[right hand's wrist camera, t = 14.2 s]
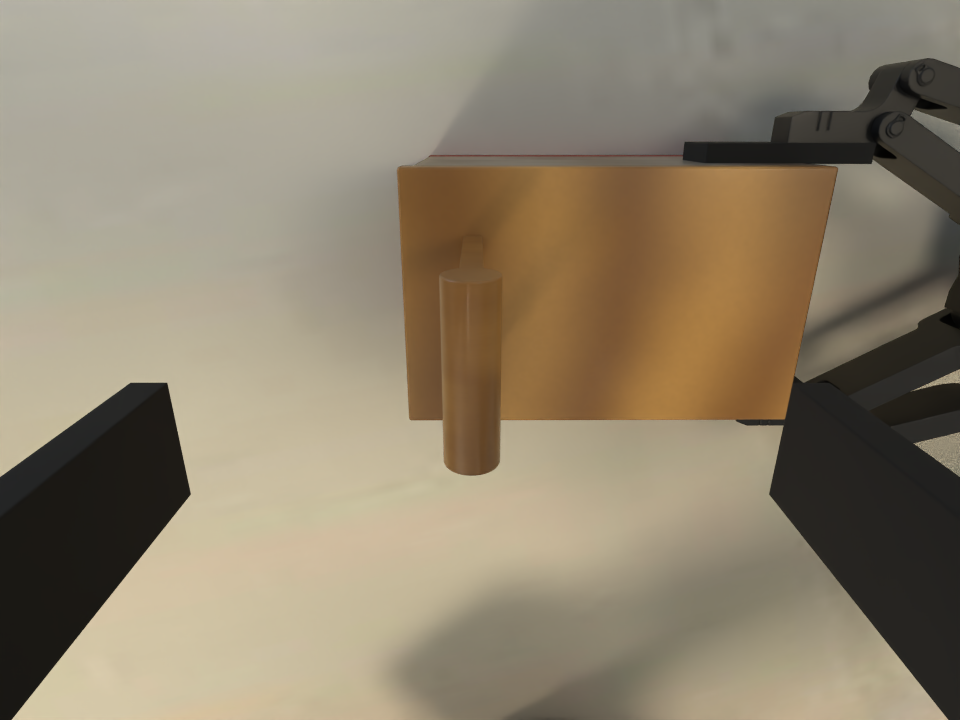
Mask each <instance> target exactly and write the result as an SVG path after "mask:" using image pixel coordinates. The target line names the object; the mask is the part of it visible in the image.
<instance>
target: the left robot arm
mask: <svg viewBox="0 0 960 720" xmlns="http://www.w3.org/2000/svg"><path fill="white" fill-rule="evenodd" d="M869 90H870V91H869V93H868V95H867V97H866V98H865V100H864V101H863V103H862V104H861V105H860V106H859V107H857V108H856V109H854V110H852V111H799V112H787V113H785V114H782V115H780V116H777V117H775V120H774V126H773V132H772V138H771V142H685V144H684V152H683V160H687V161H694V162H701V163H806V164H872V160H874V161H876V162H877V163H879V164H880V165H881V166H883V167H884V168H886V169H887V170H889V171H890V172H891V173H893V174H894V175H896V176H897V177H898V178H900V179H901V180H903V181H904V182H906V183H907V184H908V185H910V186H911V187H913V188H914V189H915V190H917V191H918V192H920V193H921V194H923V195H924V196H925V197H927V198H928V199H930V200H931V201H932V202H934V203H935V204H937V205H938V206H939V207H941V208H942V209H944V210H945V211H947V212H948V213H949V214H950V215H949V218H951V219H952V220H953V221H955V222H956V223H957V224H959V225H960V153H959V152H958V151H957V150H955V149H954V148H953V147H951V146H950V145H949V144H947V143H946V142H944V141H943V140H942V139H940V138H939V137H938V136H936V135H935V134H934V133H932V132H931V131H930V130H928V129H927V128H925V127H924V126H923V125H921V124H920V123H919V122H917V121H916V120H915V119H913V118H912V117H911V116H910V115H911V113H912V111H913V110H917V111H920V112H923V113H926V114H929V115H931V116H934V117H937V118H940V119H943V120H946V121H949V122H952V123H955V124H958V125H960V68H958V67H955V66H953V65H950V64H947V63H944V62H941V61H938V60H936V59H930V58H926V59H920V60H914V61H907V62H901V63H895V64H888V65H884V66H881V67H879V68H877V69H876V70H875V71H874V72H873V74H872V75H871V77H870V80H869ZM945 307H946V309H944V310H942V311H940V312H938V313H935V314H933V315H931V316H929V317H927V318H925V319H923V320H921V321H920V322H919V323H918V328H917V329H916V330H914V331H912V332H910V333H908V334H905V335H903V336H901V337H899V338H897V339H895V340H893V341H891V342H889V343H887V344H884V345H882V346H880V347H878V348H876V349H874V350H872V351H870V352H868V353H866V354H863V355H861V356H859V357H857V358H855V359H853V360H851V361H849V362H847V363H845V364H842V365H840V366H838V367H836V368H834V369H832V370H830V371H828V372H826V373H824V374H821V375H819V376H817V377H815V378H813V379H811V380H809V381H807V382H805V383H830V384H832V385H833V386H834V387H836V388H837V389H839V390H840V391H841V392H843V393H844V394H845V395H847V396H848V397H850V398H851V399H852V400H854V401H855V402H857V403H858V404H859V405H861V406H862V407H863V408H865V409H866V410H868V411H869V412H870V413H872V414H873V415H874V416H876V417H877V418H879V419H880V420H881V421H883V422H884V423H886V424H887V425H888V426H890V427H891V428H892V429H894V430H895V431H897V432H898V433H899V434H901V435H902V436H904V437H905V438H906V439H908V440H909V441H910V442H912V443H917V442H921V441H925V440H929V439H933V438H937V437H941V436H946V435H950V434H954V433H958V432H960V383H950V384H941V385H936V386H931V387H927V388H923V389H919V390H915V389H917V388H919V387H921V386H924V385H926V384H928V383H930V382H932V381H934V380H937V379H939V378H941V377H943V376H945V375H948V374H950V373H952V372H954V371H956V370H958V369H960V257H959V274H958V277H957V278H956V280H955V282H954V284H953V285H952V287H951V289H950V291H949V293H948V297H947V300H946V303H945ZM793 383H803V382H802V381H800V380H799V379H798V378H796V377H795V376H794V379H793ZM913 390H915V391H913ZM910 391H911V392H910ZM790 394H791V393H790ZM789 399H790V398H789ZM786 413H787V412H786ZM785 418H786V417H785ZM736 421H737V422H739V423H742V424H745V425H784V422H785V419H740V420H736Z"/></svg>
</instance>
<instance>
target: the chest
mask: <svg viewBox="0 0 960 720" xmlns="http://www.w3.org/2000/svg"><path fill="white" fill-rule="evenodd" d="M414 166H823V165H815V164H806V163H701V162H694V161H687V160H683V155H431V156H429V157H428V158H427V159H425V160H423V161H421V162H420V163H418V164H416V165H414Z"/></svg>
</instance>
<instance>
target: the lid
mask: <svg viewBox="0 0 960 720" xmlns="http://www.w3.org/2000/svg"><path fill="white" fill-rule="evenodd" d="M837 172H838V168H837V167H834V166H400V167H398V168H397V179H398V199H399V220H400V240H401V260H402V281H403V301H404V321H405V341H406V362H407V382H408V402H409V418H410V420H443V443H444V463H445V465H446V467H447V468H448V469H449V470H451V471H453V472H455V473H458V474H462V475H481V474H485V473H488V472H491V471H492V470H494V469H495V468H496V467H497V466H498V464H499V462H500V420H740V419H785V417H786V412H787V408H788V403H789V398H790V393H791V389H792V384H793V379H794V375H795V370H796V365H797V360H798V356H799V351H800V346H801V341H802V337H803V332H804V327H805V323H806V318H807V313H808V308H809V304H810V299H811V294H812V290H813V285H814V280H815V275H816V271H817V266H818V261H819V257H820V252H821V247H822V242H823V238H824V233H825V228H826V223H827V219H828V214H829V209H830V205H831V200H832V195H833V190H834V186H835V181H836V176H837Z"/></svg>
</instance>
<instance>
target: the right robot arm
mask: <svg viewBox="0 0 960 720" xmlns="http://www.w3.org/2000/svg"><path fill="white" fill-rule="evenodd" d="M190 495H191V493H190V488H189V484H188V479H187V474H186V470H185V465H184V460H183V455H182V451H181V446H180V441H179V436H178V432H177V427H176V422H175V418H174V413H173V408H172V403H171V399H170V394H169V389H168V384H167V383H130V384H128V385H127V386H126V387H124V388H123V389H121V390H120V391H119V392H117V393H116V394H115V395H113V396H112V397H110V398H109V399H108V400H106V401H105V402H103V403H102V404H101V405H99V406H98V407H97V408H95V409H94V410H92V411H91V412H90V413H88V414H87V415H86V416H84V417H83V418H81V419H80V420H79V421H77V422H76V423H74V424H73V425H72V426H70V427H69V428H68V429H66V430H65V431H63V432H62V433H61V434H59V435H58V436H56V437H55V438H54V439H52V440H51V441H50V442H48V443H47V444H45V445H44V446H43V447H41V448H40V449H38V450H37V451H36V452H34V453H33V454H32V455H30V456H29V457H27V458H26V459H25V460H23V461H22V462H20V463H19V464H18V465H16V466H15V467H14V468H12V469H11V470H9V471H8V472H7V473H5V474H4V475H2V476H1V477H0V720H12V719H13V717H14V716H15V715H16V714H17V712H18V711H19V710H20V708H21V707H22V706H23V705H24V703H25V702H26V701H27V700H28V698H29V697H30V696H31V695H32V693H33V692H34V691H35V690H36V688H37V687H38V686H39V685H40V683H41V682H42V681H43V680H44V678H45V677H46V676H47V675H48V673H49V672H50V671H51V669H52V668H53V667H54V666H55V664H56V663H57V662H58V661H59V659H60V658H61V657H62V656H63V654H64V653H65V652H66V651H67V649H68V648H69V647H70V646H71V644H72V643H73V642H74V641H75V639H76V638H77V637H78V636H79V634H80V633H81V632H82V630H83V629H84V628H85V627H86V625H87V624H88V623H89V622H90V620H91V619H92V618H93V617H94V615H95V614H96V613H97V612H98V610H99V609H100V608H101V607H102V605H103V604H104V603H105V602H106V600H107V599H108V598H109V597H110V595H111V594H112V593H113V591H114V590H115V589H116V588H117V586H118V585H119V584H120V583H121V581H122V580H123V579H124V578H125V576H126V575H127V574H128V573H129V571H130V570H131V569H132V568H133V566H134V565H135V564H136V563H137V561H138V560H139V559H140V558H141V556H142V555H143V554H144V552H145V551H146V550H147V549H148V547H149V546H150V545H151V544H152V542H153V541H154V540H155V539H156V537H157V536H158V535H159V534H160V532H161V531H162V530H163V529H164V527H165V526H166V525H167V524H168V522H169V521H170V520H171V519H172V517H173V516H174V515H175V513H176V512H177V511H178V510H179V508H180V507H181V506H182V505H183V503H184V502H185V501H186V500H187V498H188V497H189V496H190ZM769 495H770V496H771V497H772V498H773V500H774V501H775V502H776V503H777V505H778V506H779V507H780V508H781V510H782V511H783V512H784V513H785V515H786V516H787V517H788V519H789V520H790V521H791V522H792V524H793V525H794V526H795V527H796V529H797V530H798V531H799V532H800V534H801V535H802V536H803V537H804V539H805V540H806V541H807V542H808V544H809V545H810V546H811V547H812V549H813V550H814V551H815V552H816V554H817V555H818V556H819V558H820V559H821V560H822V561H823V563H824V564H825V565H826V566H827V568H828V569H829V570H830V571H831V573H832V574H833V575H834V576H835V578H836V579H837V580H838V581H839V583H840V584H841V585H842V586H843V588H844V589H845V590H846V591H847V593H848V594H849V595H850V597H851V598H852V599H853V600H854V602H855V603H856V604H857V605H858V607H859V608H860V609H861V610H862V612H863V613H864V614H865V615H866V617H867V618H868V619H869V620H870V622H871V623H872V624H873V625H874V627H875V628H876V629H877V630H878V632H879V633H880V634H881V636H882V637H883V638H884V639H885V641H886V642H887V643H888V644H889V646H890V647H891V648H892V649H893V651H894V652H895V653H896V654H897V656H898V657H899V658H900V659H901V661H902V662H903V663H904V664H905V666H906V667H907V668H908V669H909V671H910V672H911V673H912V675H913V676H914V677H915V678H916V680H917V681H918V682H919V683H920V685H921V686H922V687H923V688H924V690H925V691H926V692H927V693H928V695H929V696H930V697H931V698H932V700H933V701H934V702H935V703H936V705H937V706H938V707H939V708H940V710H941V711H942V712H943V714H944V715H945V716H946V717H947V719H948V720H960V477H959V476H958V475H956V474H955V473H953V472H952V471H951V470H949V469H948V468H946V467H945V466H944V465H942V464H941V463H940V462H938V461H937V460H935V459H934V458H933V457H931V456H930V455H928V454H927V453H926V452H924V451H923V450H922V449H920V448H919V447H917V446H916V445H915V444H913V443H912V442H910V441H909V440H908V439H906V438H905V437H904V436H902V435H901V434H899V433H898V432H897V431H895V430H894V429H892V428H891V427H890V426H888V425H887V424H886V423H884V422H883V421H881V420H880V419H879V418H877V417H876V416H874V415H873V414H872V413H870V412H869V411H868V410H866V409H865V408H863V407H862V406H861V405H859V404H858V403H857V402H855V401H854V400H852V399H851V398H850V397H848V396H847V395H845V394H844V393H843V392H841V391H840V390H839V389H837V388H836V387H834V386H833V385H832V384H830V383H793V384H792V389H791V394H790V399H789V403H788V408H787V413H786V418H785V422H784V427H783V432H782V436H781V441H780V446H779V451H778V455H777V460H776V465H775V470H774V474H773V479H772V484H771V488H770V493H769Z"/></svg>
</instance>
